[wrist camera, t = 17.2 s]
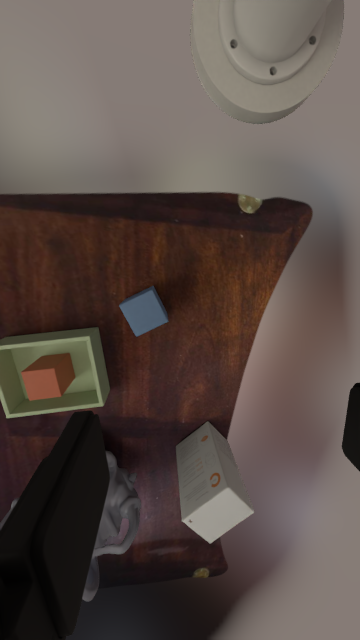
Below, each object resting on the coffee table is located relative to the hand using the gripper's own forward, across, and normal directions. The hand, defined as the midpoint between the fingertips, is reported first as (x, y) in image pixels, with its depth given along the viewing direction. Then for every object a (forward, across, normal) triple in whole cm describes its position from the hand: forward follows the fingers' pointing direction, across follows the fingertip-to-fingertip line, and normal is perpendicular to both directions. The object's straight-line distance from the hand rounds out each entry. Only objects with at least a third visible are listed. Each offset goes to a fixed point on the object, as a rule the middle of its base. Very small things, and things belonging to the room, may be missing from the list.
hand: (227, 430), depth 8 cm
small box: (+28, -2, +28) cm, 40 cm away
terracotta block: (+28, +20, +10) cm, 36 cm away
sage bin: (+28, +20, +9) cm, 36 cm away
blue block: (+29, +5, +1) cm, 29 cm away
